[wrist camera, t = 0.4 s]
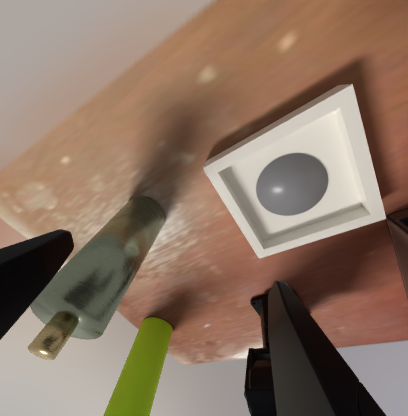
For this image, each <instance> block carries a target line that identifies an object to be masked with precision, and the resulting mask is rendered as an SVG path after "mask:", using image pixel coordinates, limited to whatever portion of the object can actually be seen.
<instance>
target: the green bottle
mask: <svg viewBox="0 0 408 416" xmlns="http://www.w3.org/2000/svg"><path fill="white" fill-rule="evenodd" d="M165 218H166V217H165V212H164V210H163V208H162V207H161V206H160V204H159V203H157V202H156V201H155V200H153V199H151V198H148V197H145V196H138V197H134V198H132V199H131V200H130V201H129V202H128V203H127V204H126V205H125V206H124V207H123V208H122V209H121V210H120V211H119V212H118V213H117V214H116V215H115V216H114V217H113V218H112V219H111V220H110V221H109V222H108V223H107V224H106V225H105V226H104V227H103V228H102V229H101V230H100V231H99V232H98V233H97V234H96V235H95V236H94V237H93V238H92V239H91V240H90V241H89V242H88V243H87V244H86V245H85V246H84V247H83V248H82V249H81V250H80V251H79V252H78V253H77V254H76V255H75V256H74V257H73V258H72V259H71V260H70V261H69V262H68V263H67V264H66V265H65V266H64V267H63V268H62V269H61V270H60V271H59V272H58V273H57V274H56V275H55V276H54V277H53V279H52V280H51V281H50V283H49V284H48V285H47V286H46V287H45V288H44V290H43V291H42V292H41V293H40V294H39V295H38V297H37V298H36V299H35V300H34V301H33V302H32V304H31V305H30V307H31V309H32V311H33V313H34V314H35V315H36V316H37V317H38V318H39V319H40V320H41V321H42V322H43V323H45V324H46V326H45V327H44V328H43V329H42V331H41V332H40V333H39V334H38V336H37V337H36V338H35V339H34V340H33V341H32V343H31V344H30V345H29V346H28V350H29V351H30V352H31V353H33V354H34V355H36V356H38V357H40V358H43V359H47V360H54V359H55V358H56V356H57V355H58V353H59V352H60V350H61V349H62V347H63V346H64V344H65V343H66V342H67V340H68V339H69V337H70V336H71V337H75V338H79V339H96V338H98V337H100V336H101V335H102V334H103V332H104V330H105V329H106V327H107V325H108V323H109V321H110V320H111V318H112V316H113V314H114V312H115V311H116V309H117V307H118V305H119V304H120V302H121V300H122V298H123V296H124V295H125V293H126V291H127V289H128V287H129V286H130V284H131V282H132V280H133V279H134V277H135V275H136V273H137V271H138V270H139V268H140V266H141V264H142V262H143V261H144V259H145V257H146V255H147V254H148V252H149V250H150V248H151V246H152V245H153V243H154V241H155V239H156V237H157V236H158V234H159V232H160V230H161V229H162V227H163V225H164V223H165Z"/></svg>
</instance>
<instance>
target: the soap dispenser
mask: <svg viewBox="0 0 408 416" xmlns="http://www.w3.org/2000/svg"><path fill="white" fill-rule="evenodd" d="M172 331H173V329H172V326H171V325H170V324H169V323H168V322H166V321H165V320H162V319H160V318H155V317H149V318H146V319H144V320H143V322H142V324H141V327H140V329H139V332H138V334H137V337H136V339H135V341H134V344H133V346H132V349H131V351H130V353H129V356H128V358H127V360H126V363H125V365H124V368H123V370H122V372H121V375H120V377H119V380H118V382H117V385H116V387H115V389H114V392H113V394H112V397H111V399H110V401H109V404H108V406H107V409H106V411H105V413H104V416H149V415H150V411H151V407H152V404H153V400H154V396H155V392H156V389H157V385H158V382H159V378H160V374H161V371H162V367H163V363H164V360H165V356H166V353H167V349H168V345H169V342H170V338H171V335H172Z"/></svg>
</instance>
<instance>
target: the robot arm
mask: <svg viewBox="0 0 408 416" xmlns="http://www.w3.org/2000/svg"><path fill="white" fill-rule="evenodd" d="M73 248H74V243H73V239H72V235H71V232H69V231H66V230H62V229H60V230H56V231H53V232H50V233H47V234H44V235H41V236H38V237H35V238H32V239H29V240H26V241H23V242H20V243H17V244H14V245H11V246H8V247H4V248H1V249H0V340H1V338H2V337H3V336H4V335H5V334H6V333H7V332H8V330H9V329H10V328H11V327H12V326H13V324H14V323H15V322H16V321H17V320H18V319H19V318H20V316H21V315H22V314H23V313H24V312H25V311H26V309H27V308H28V307H29V306H30V305H31V304H32V302H33V301H34V300H35V299H36V298H37V297H38V295H39V294H40V293H41V292H42V291H43V290H44V288H45V287H46V286H47V285H48V284H49V283H50V281H51V280H52V279H53V277H54V276H55V275H56V273H57V272H58V270H59V269H60V268H61V266H62V265H63V263H64V262H65V261H66V259H67V258H68V256H69V255H70V253H71V252H72V251H73ZM251 305H252V306H253V308H254V309H255V310H256V312H257V313H258V314H259V316H260V318H261V328H262V338H263V348H258V349H253V348H249V352H248V357H247V368H246V379H245V392H244V395H245V398H246V400H247V403H248V408H249V412H250V414H251V416H386V415H385V413H384V412H383V411H382V409H381V408H380V407H379V406H378V404H377V403H376V402H375V400H374V399H373V398H372V396H371V395H370V394H369V392H368V391H367V390H366V388H365V387H364V386H363V384H362V383H361V382H359V379H358V378H357V377H356V375H355V374H354V372H353V371H352V370H351V368H350V367H349V366H348V365H347V363H346V362H345V361H344V359H343V358H342V356H341V355H340V354H339V352H338V351H337V350H336V348H335V347H334V346H333V344H332V343H331V342H330V340H329V339H328V338H327V336H326V335H325V334H324V332H323V331H322V330H321V328H320V327H319V326H318V324H317V323H316V322H315V320H314V319H313V318H312V316H311V315H310V314H309V312H308V311H307V310H306V308H305V307H304V305H303V304H302V302H301V300H300V299H299V297H298V295H297V293H296V292H295V291H294V290H292V289H291V288H290V287H289V285H288V284H287V283H286V282H283V281H278V280H276V281H275V282H274V284H273V286H272V288H271V290H270V292H269V294H268V295H267V296H263V297H258V298H254V299H251Z"/></svg>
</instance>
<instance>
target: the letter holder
mask: <svg viewBox="0 0 408 416" xmlns="http://www.w3.org/2000/svg"><path fill="white" fill-rule="evenodd" d="M386 221H387V225H388V228H389V231H390V235H391V238H392V241H393V244H394V248H395V252H396V256H397V260H398V264H399V268H400V272H401V276H402V279H403V283H404V287H405V290H406V294H407V297H408V209H405V210H402V211H399V212H396V213H393V214H390V215H388V216H386Z"/></svg>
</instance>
